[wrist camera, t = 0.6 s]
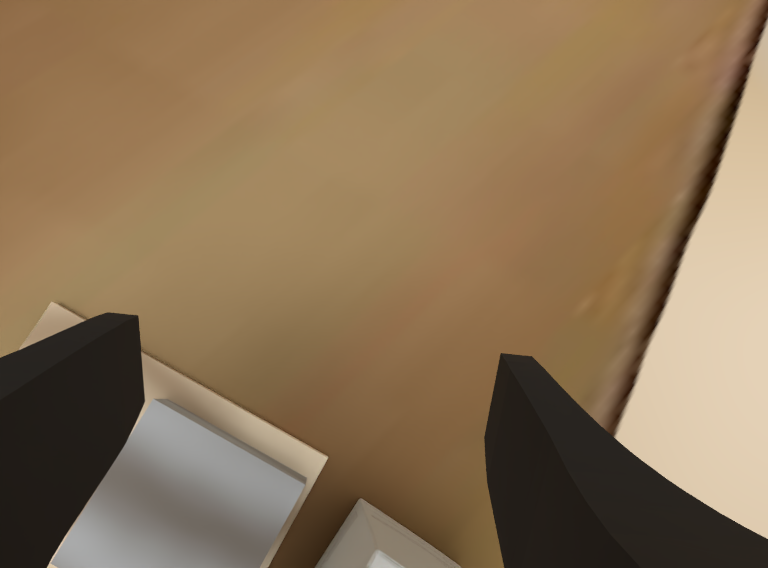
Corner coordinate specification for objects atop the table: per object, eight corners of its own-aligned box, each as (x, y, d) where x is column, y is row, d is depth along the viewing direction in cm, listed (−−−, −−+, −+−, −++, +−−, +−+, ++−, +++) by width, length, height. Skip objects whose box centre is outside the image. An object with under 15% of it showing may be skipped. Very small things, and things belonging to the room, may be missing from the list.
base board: (155, 768, 33) (133, 818, 29) (-142, 598, 33) (-205, 625, 29) (328, 456, 37) (328, 463, 33) (59, 304, 37) (27, 292, 33)
